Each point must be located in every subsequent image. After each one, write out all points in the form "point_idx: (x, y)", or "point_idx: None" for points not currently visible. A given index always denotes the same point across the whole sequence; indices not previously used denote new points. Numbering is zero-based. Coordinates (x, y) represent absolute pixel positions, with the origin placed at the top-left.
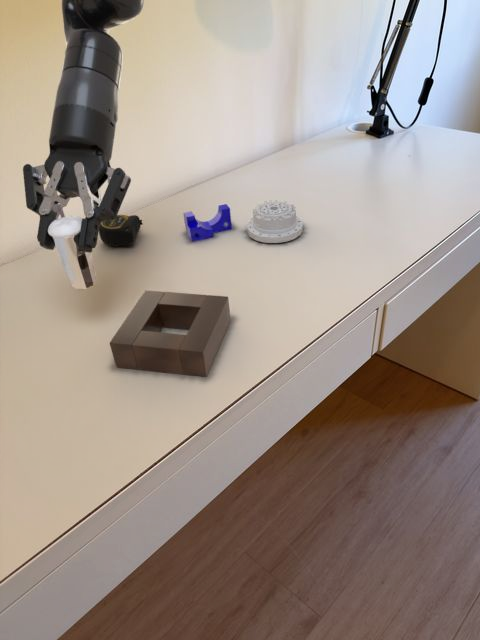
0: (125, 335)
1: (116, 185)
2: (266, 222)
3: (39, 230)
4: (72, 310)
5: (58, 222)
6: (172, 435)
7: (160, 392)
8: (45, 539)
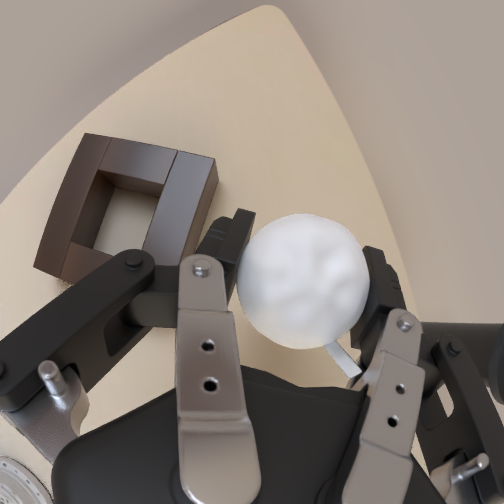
0: (189, 174)
1: (33, 319)
2: (9, 485)
3: (396, 286)
4: (321, 347)
5: (333, 270)
6: (150, 77)
7: (157, 130)
8: (254, 11)
